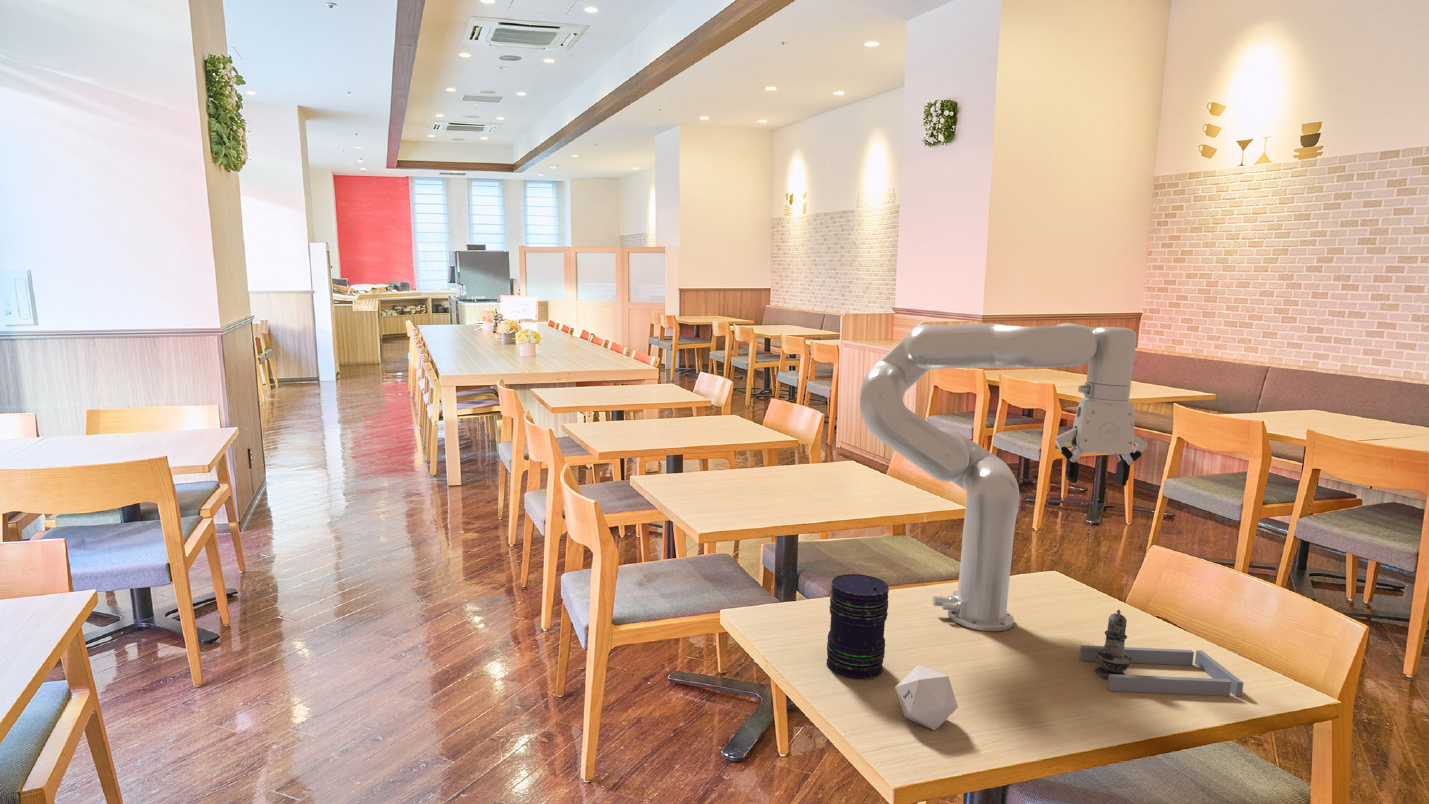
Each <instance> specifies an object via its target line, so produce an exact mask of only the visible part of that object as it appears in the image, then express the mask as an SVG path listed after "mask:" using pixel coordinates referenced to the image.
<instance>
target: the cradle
mask: <svg viewBox="0 0 1429 804" xmlns="http://www.w3.org/2000/svg"><path fill="white" fill-rule="evenodd" d="M1079 646H1080V649H1079V656H1078V657H1079V658H1078V659H1079V660H1080V661H1082V662H1097V659H1096V654H1095V650H1097V649H1099V648H1103V647H1104V645H1086V644H1083V645H1082V644H1081V645H1079ZM1124 651H1125V653H1126V654H1128V655H1129V656H1131V658H1132V662H1131V663H1130V664H1151V665H1169V666H1171V665H1172V666H1173V665H1176V666H1193V663H1194V664H1195V665H1196V666H1198V667H1199V668H1200V669H1201V670H1202V671H1204V672H1205V673H1206V674H1207V675H1209V676H1210V677H1211V678H1208V677H1190V676H1189V677H1184V676H1165V675H1164V676H1161V675H1139V674H1137V675H1135V674H1126V675H1119V674H1109V677H1108V680H1107V687H1106V688H1107V690H1109V691H1110V692H1125V693H1146V694H1147V693H1151V694H1152V693H1153V694H1170V695H1171V694H1172V695H1173V694H1174V695H1176V694H1177V695H1194V696H1195V695H1197V696H1219V697H1220V696H1221V697H1224V696H1225V697H1230V695H1231V694H1232V695H1233V696H1234V697H1240V698H1241V697H1242V695H1243V690H1244V689H1243V688H1244V682H1243V681H1242V680H1241V679H1240V678H1238V677H1237V676H1236V675H1234V674H1233V673H1232V672H1231V671H1230V670H1228V669H1226V668H1225V666H1223V665H1221V664H1220V663H1219V662H1218V661H1216V660H1215V659H1213V657H1211V656H1210V655H1208V653H1206V652H1205V651H1204V650H1200V649H1199V650H1198V649H1197V650H1195V651H1196V652H1194V651H1193V650H1191V649H1181V648H1180V649H1178V648H1177V649H1176V648H1156V647H1155V648H1151V647H1131V646H1129V647H1128V646H1124ZM1194 654H1195V655H1194ZM1194 656H1195V657H1194ZM1194 658H1195V659H1194ZM1193 661H1194V662H1193Z"/></svg>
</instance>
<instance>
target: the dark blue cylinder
mask: <svg viewBox="0 0 1429 804" xmlns="http://www.w3.org/2000/svg"><path fill="white" fill-rule="evenodd" d="M889 589H890V587H889V584H888V583H887V582H886V581H884V580H883V579H881V578H877V577H875V576H872V575H867V574H859V573H857V574H856V573H845V574H840V575H837V576H835V577H833V578H832V580H831V590H830V595H829V597H830V598H829V603H830V604H829V613H830V626H829V631H828V635H827V642H826V643H827V644H826V652H827V653H826V656H827V658H826V666H827V668H828V669H829V671H830V672H832V673H833V674H835V675H837V676H840V677H843V678H846V679H849V680H856V681H857V680H860V681H863V680H864V681H865V680H873V679H875V678H877V677H879V676H881V675H882V673H883V670H884V668H883V663H884V659H885V654H886V653H885V651H886V650H885V649H886V639H885V627H886V625H885V623H886V622H887V621H886V620H887V619H888V614H889V613H888V609H889V591H890V590H889Z"/></svg>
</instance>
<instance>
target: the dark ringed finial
mask: <svg viewBox="0 0 1429 804" xmlns="http://www.w3.org/2000/svg"><path fill="white" fill-rule="evenodd" d="M1107 621H1108V623H1107V630H1105V631H1104V635H1105V643H1104V645H1103V646H1104V647H1103V648H1099V649H1097V650H1095V654H1096V659H1097V661H1096V662H1097V663H1098V665H1099V666H1098V667H1096V668H1095V669H1094V674H1095V675H1096V676H1098V677H1099V678H1100V679H1103V680H1106V681H1108V677H1109V674H1119V675H1127V674H1126V673H1125V671H1127V669H1128V668H1129V666H1130V664H1132V663H1131V662H1132V658H1131V656H1129V655H1128V654H1126V653H1125V651H1124V647H1125V643H1126V639H1128V635H1127V634H1126V631H1127V621H1128V620H1127V618H1126V617H1125V615H1122V612H1121V610H1120V609H1118V610H1116V613H1111V614H1110V615H1109V616H1108V620H1107Z"/></svg>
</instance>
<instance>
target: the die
mask: <svg viewBox="0 0 1429 804" xmlns="http://www.w3.org/2000/svg"><path fill="white" fill-rule="evenodd" d="M894 688H895V691H896V694H897V697H898V700H899V704H900V707H901V710H902V713H903V716H904V718H905V719H906V720H910V721H912V722H914V723H917V724H919V725H920V726H923V727H925V728H928V729H931V731H932V730H933V731H936V730H937V729H938V728H939V727H941V725H942V724H943V723H944V722H945V721H947V719H948V718H949V717H950V716H951V715H952V714H953V713H954V712H955V711H956V710H957V709H958V708H959V706H958V703H957V700H956V696H955V693H954V690H953V687H952V683H951V681H950V678H949V676H948V675H946V674H943V673H941V672H938V671H935V670H933V669H930V668H927V667H925V666H923V665H920V664H917V665H916V666H915V667H914V668H913V669H912V670H911V671H910V672H909V673H908V674H907V675H906V676H905V677H904V678H903V679H901V680H900V682H899V683H897V685H895V687H894Z"/></svg>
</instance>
